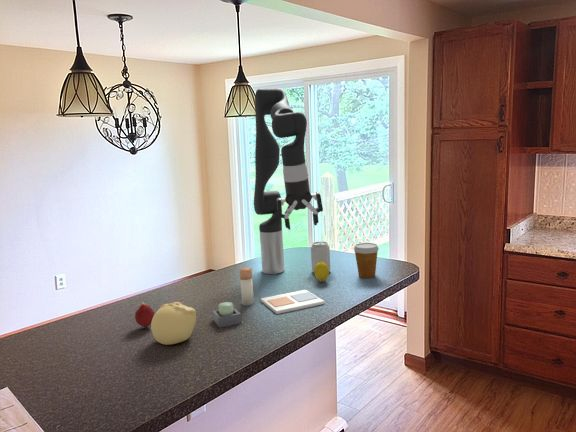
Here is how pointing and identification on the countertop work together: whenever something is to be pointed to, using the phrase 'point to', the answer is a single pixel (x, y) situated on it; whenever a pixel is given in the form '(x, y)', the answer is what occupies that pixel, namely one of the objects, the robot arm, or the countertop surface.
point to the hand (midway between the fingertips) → (302, 226)
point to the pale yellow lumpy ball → (173, 323)
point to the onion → (144, 315)
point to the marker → (246, 286)
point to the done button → (225, 309)
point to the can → (320, 254)
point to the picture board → (291, 301)
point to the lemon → (321, 271)
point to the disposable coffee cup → (366, 259)
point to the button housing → (227, 318)
